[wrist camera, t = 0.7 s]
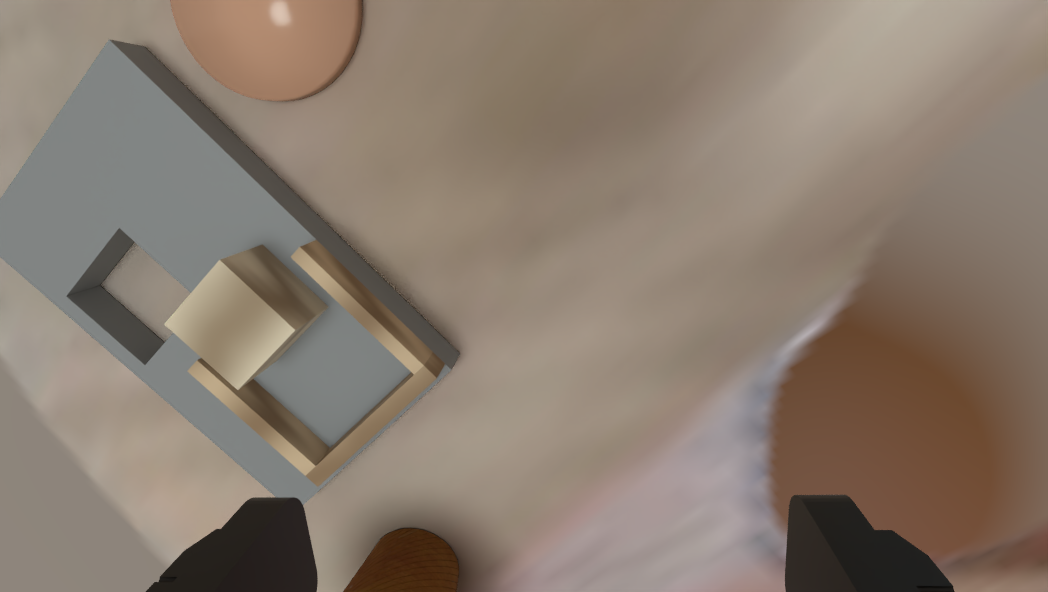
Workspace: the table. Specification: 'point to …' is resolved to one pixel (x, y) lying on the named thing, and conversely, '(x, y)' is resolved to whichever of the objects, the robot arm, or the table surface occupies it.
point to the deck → (191, 254)
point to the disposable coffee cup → (408, 565)
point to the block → (245, 314)
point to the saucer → (271, 43)
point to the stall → (324, 461)
